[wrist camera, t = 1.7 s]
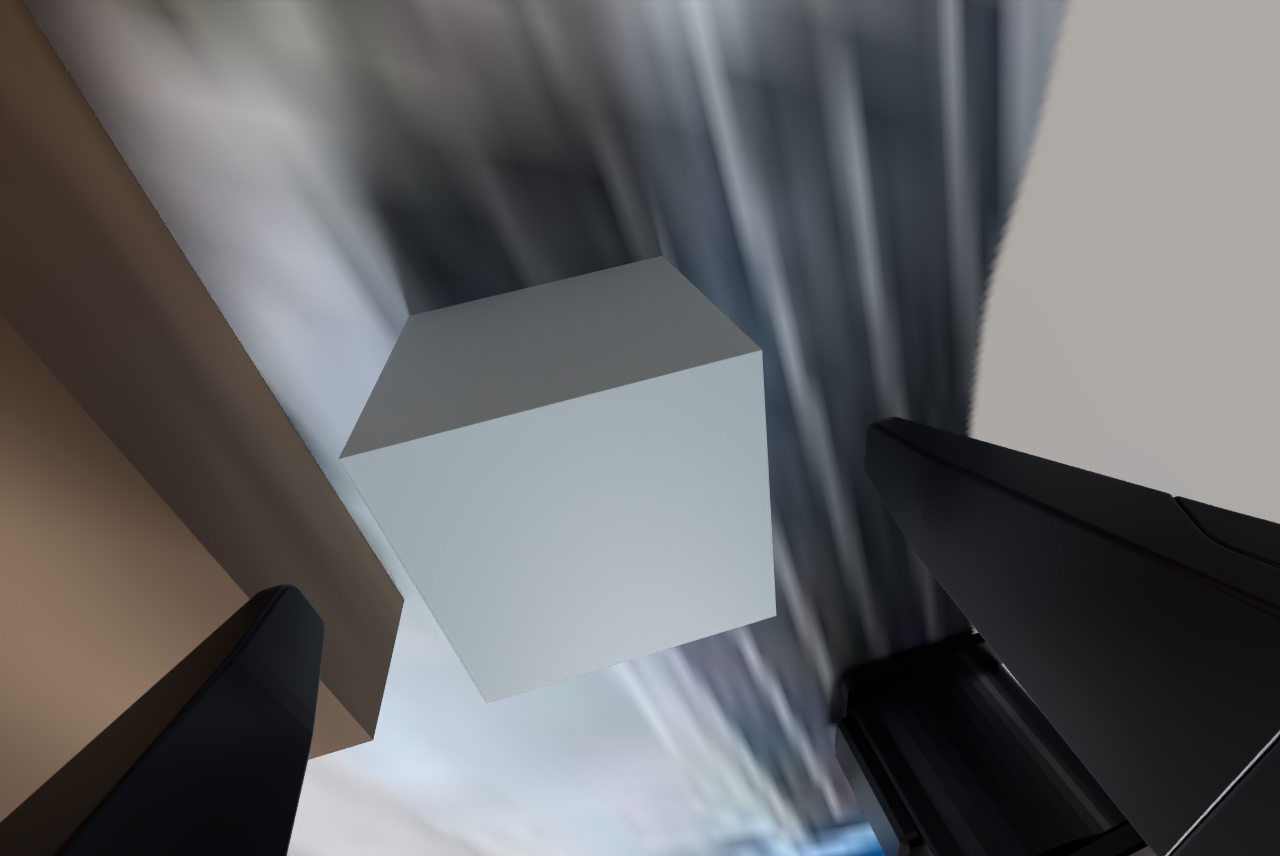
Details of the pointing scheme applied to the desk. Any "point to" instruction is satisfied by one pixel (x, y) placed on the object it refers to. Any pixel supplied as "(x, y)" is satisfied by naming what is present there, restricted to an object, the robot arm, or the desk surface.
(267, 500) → the walnut block
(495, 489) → the slate cube
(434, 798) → the desk surface
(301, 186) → the desk surface
